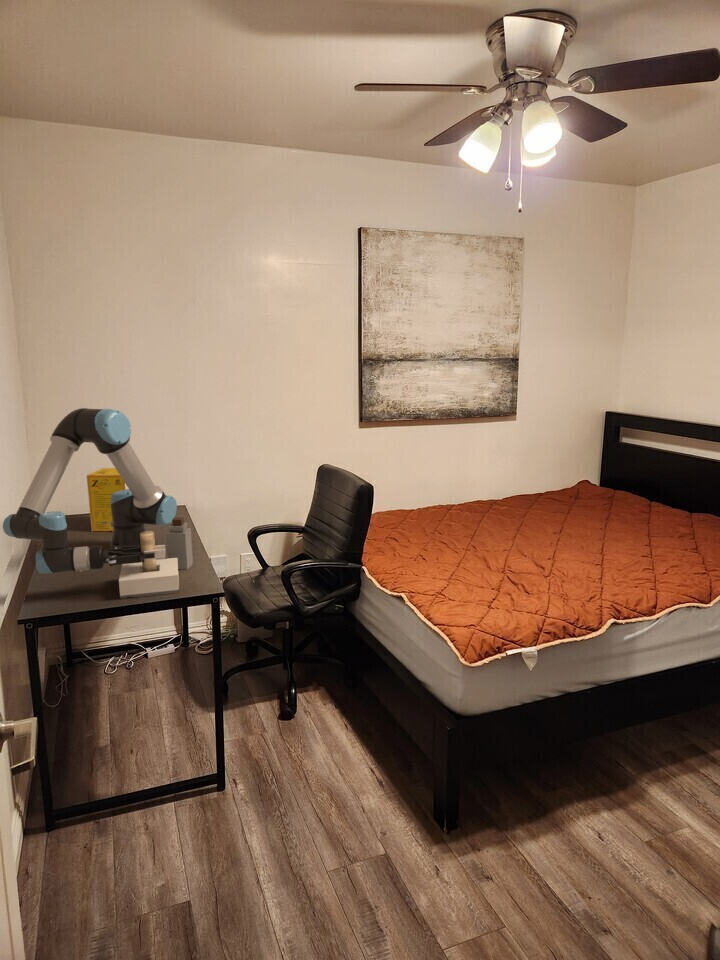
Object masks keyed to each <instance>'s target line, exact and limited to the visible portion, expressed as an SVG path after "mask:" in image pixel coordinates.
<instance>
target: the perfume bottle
mask: <svg viewBox="0 0 720 960" xmlns="http://www.w3.org/2000/svg"><path fill="white" fill-rule="evenodd" d="M184 519H185V518H184V517H183V516H182V517H181V516H179V517H177V516H175V517H174V518H173V519H172V522H171V523H170V524H169V526H168V529H169V530H168V531H167V532H166V534H165V535H166V547H167V559H169V558H177V559H178V569H186V571H187V570H189V568H190V567H192V565H193V564H194V560H193V559H194V558H193V544H192V543H193V542H192V528H191V527H188V524H189V523H188V522H184V521H185V520H184Z"/></svg>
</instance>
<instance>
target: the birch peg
mask: <svg viewBox="0 0 720 960" xmlns="http://www.w3.org/2000/svg"><path fill="white" fill-rule="evenodd" d="M140 542H141V552H143V553H144V551H152V550H155V546H156V543H155V532H154V530H153V531H152V530H146V531H145V532H141V533H140ZM156 560H157V559H147V560H145V559H144V561H145V562H144V563H142V568H143V573H144V572H154V571H157V568H156Z"/></svg>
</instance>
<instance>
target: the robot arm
mask: <svg viewBox="0 0 720 960" xmlns="http://www.w3.org/2000/svg"><path fill="white" fill-rule="evenodd" d="M131 427H132V426H131V421H130V419H129V417H128V416H126V414H125V413H124V412H123V411H122V412H121V411H120V410H117V409H111V408H103V409H102V408H86V407H84V408H83V407H82V408H78V409H75V410H73V411H71V412H69V413H68V414H67V415H66V416H64V418H62V419H61V420H60V422H59V423H58V424H57V425H56V427H55V429H54V430H53V432H52V434H51V436H50V438H49V439H50V440H49V441H50V442H51V443H50V445H49V447H48V449H47V451H46V452H45V455H44V457H43V458H42V461H41V463H40V464H39V467H38V469H37V471H36V473H35V475H34V477H33V479H32V481H31V484H30V485H29V487H28V488H27V491H26V492H25V495H24V498H22V501H21V503H20V505H19V507H18V509H17V511H16V513H12V514H11V513H10V514H9V515H8V516H6V517H5V518H4V520H3V522H2V530H3V532H4V534H5V535H7V537H11V538H16V539H22V540H23V539H24V540H30V541H38V542H41V550H40V549H39V550H38V551H36V554H35V567H36V570H37V572H38V573H39V574H42V575H43V574H44V575H45V574H58V573H69V572H78V571H79V572H80V573H82V572H83V571H89V570H90V569H91V570H101V569H103V568H104V566H105V564H109V565H108V566H109V567H113V566H118V565H122V564H130V563H141V562H142V563H144V562H145V561H144V559H145V560H147V559H156V560H158V559H167V557H166V556H167V555H166V544H160V545H159V544H158V545H155V550H152V551H144V553H143V552H141V542H140V533H141V532H145V531H147V529H146V527H145V525H146V524H147V525H152V526H158V527H160V526H162V527H163V526H168V525H171V524H172V519H173V518H175V517H176V514H177V510H178V504H177V500H176V498H175V497H174V496H173V495H170V494H169V495H168V494H167V495H166V494H165V492H164V491H163V488H161V487H160V485H159V486H158V485H156V484H155V483H154V482H153V480H152V478H151V476H150V475H149V473H148V472H147V470H146V468H145V467H144V465H143V463H142V462H141V460H140V458H139V457H138V456H137V453H136V452H135V450H134V449H133V447H132V445H131V444H130V440H131V434H132V429H131ZM84 443H90V444H91V443H92V444H94V446H95V448H96V449H97V451H98V452H99V453H101V454H102V455H106V456H107V457H108V459H109V461H110V462H111V463H112V465H113V468H116V470H117V471H118V473H119V474H120V476H121V478H122V479H123V481H124V482H125V484H126V485H127V487H128V488H129V489H126V490H121V491H117V492H114V493H113V494H112V495H111V511H112V520H113V532H111V533H112V534H111V537H110V542H109V546H110V547H109V548H108V549H107V550H104V547H103V546H102V545H99V544H98V545H91V546H88V545H86V546H77V547H75V546H74V547H69V540H68V539H69V537H68V524H67V519H66V515H65V513H64V512H62V511H60V510H59V511H58V510H56V511H53V510H52V511H46V510H47V508H48V506H49V504H50V502H51V500H52V498H53V495H54V494H55V492H56V489H57V488H58V486H59V483H60V481H61V480H62V478H63V475H64V473H65V472H66V470H67V466H68V465H69V463H70V461H71V459H72V457H73V455H74V453H75V452H78V451H79V449H80V447H81V446H82V445H83V444H84Z"/></svg>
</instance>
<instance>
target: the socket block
mask: <svg viewBox="0 0 720 960" xmlns="http://www.w3.org/2000/svg"><path fill="white" fill-rule="evenodd" d="M156 568H157V571H154V572H144V573H143V568H142V562H141V563H130V564H121V569H120V572H119V573H120V574H119V579H118V586H119V587H118V588H119V597H120V598H124V599H128V598H127V597H133V598H141V597H150V596H161V595H167V594H168V595H169V594H177V593H180V578H179V577H180V576H179V570H178V559H177V558H169V559H168V558H158V559H156ZM120 598H119V599H120Z"/></svg>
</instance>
